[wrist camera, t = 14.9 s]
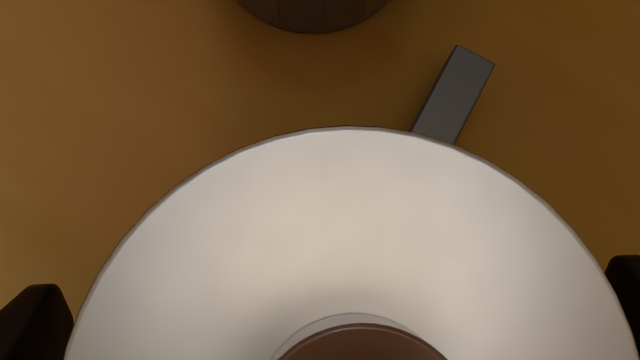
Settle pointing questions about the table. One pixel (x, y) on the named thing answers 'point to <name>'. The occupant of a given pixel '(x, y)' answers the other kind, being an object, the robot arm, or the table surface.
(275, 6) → the pot
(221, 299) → the light grey round piece
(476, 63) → the pan handle
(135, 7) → the table surface
